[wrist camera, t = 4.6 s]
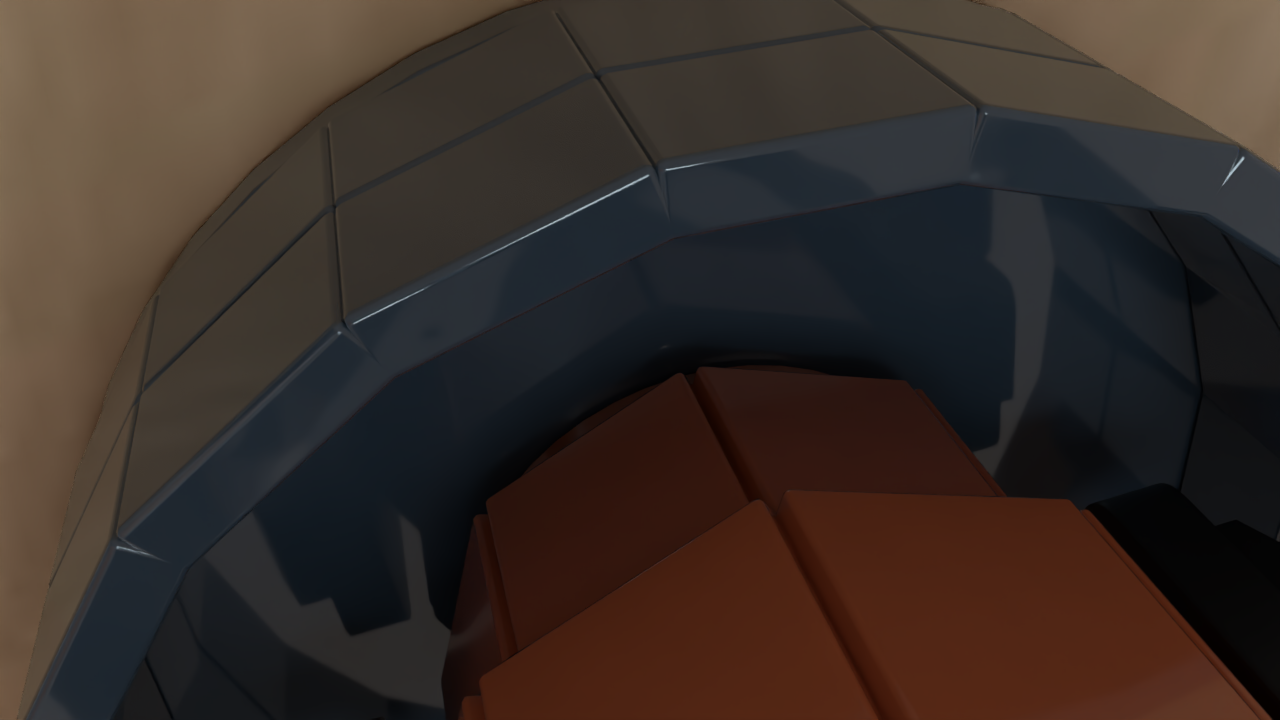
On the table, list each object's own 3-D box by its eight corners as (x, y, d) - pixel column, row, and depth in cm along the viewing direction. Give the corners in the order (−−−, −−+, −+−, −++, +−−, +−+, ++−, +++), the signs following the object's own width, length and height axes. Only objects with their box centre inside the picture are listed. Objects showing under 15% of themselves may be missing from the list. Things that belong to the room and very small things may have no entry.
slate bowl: (84, 930, 14) (30, 1285, 11) (82, -185, 8) (-36, -59, 5) (973, 857, 18) (1106, 1102, 15) (1410, 76, 12) (1770, 230, 9)
